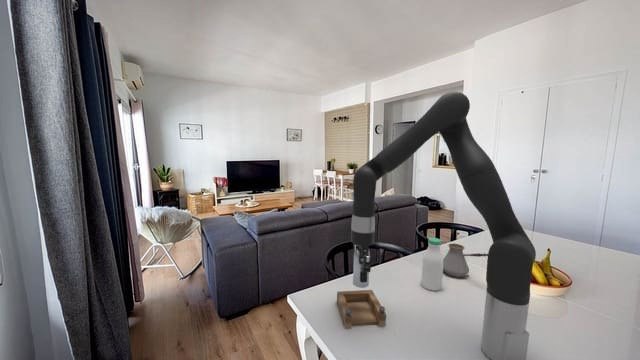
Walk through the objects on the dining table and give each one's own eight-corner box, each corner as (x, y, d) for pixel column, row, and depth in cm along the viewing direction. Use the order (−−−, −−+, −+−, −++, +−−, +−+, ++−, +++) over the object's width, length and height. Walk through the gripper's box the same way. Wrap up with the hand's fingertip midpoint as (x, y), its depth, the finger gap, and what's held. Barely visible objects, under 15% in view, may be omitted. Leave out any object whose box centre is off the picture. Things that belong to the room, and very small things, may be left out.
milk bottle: (443, 292, 101) (447, 243, 98) (423, 290, 102) (426, 241, 100) (438, 282, 108) (442, 236, 106) (419, 280, 110) (422, 235, 107)
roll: (370, 287, 84) (371, 257, 83) (355, 288, 83) (356, 258, 82) (366, 279, 89) (367, 250, 88) (351, 279, 88) (352, 251, 87)
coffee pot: (434, 269, 120) (436, 238, 118) (452, 265, 124) (454, 235, 122) (477, 293, 100) (481, 257, 98) (497, 288, 105) (501, 252, 103)
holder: (385, 325, 81) (386, 309, 80) (345, 328, 80) (345, 311, 79) (371, 299, 95) (372, 285, 94) (336, 301, 93) (337, 287, 93)
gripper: (381, 235, 77) (379, 288, 79) (367, 221, 91) (365, 267, 93) (357, 236, 76) (355, 289, 78) (346, 222, 90) (345, 267, 92)
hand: (360, 277), depth 86 cm, fingers closed on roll, 5 cm apart
